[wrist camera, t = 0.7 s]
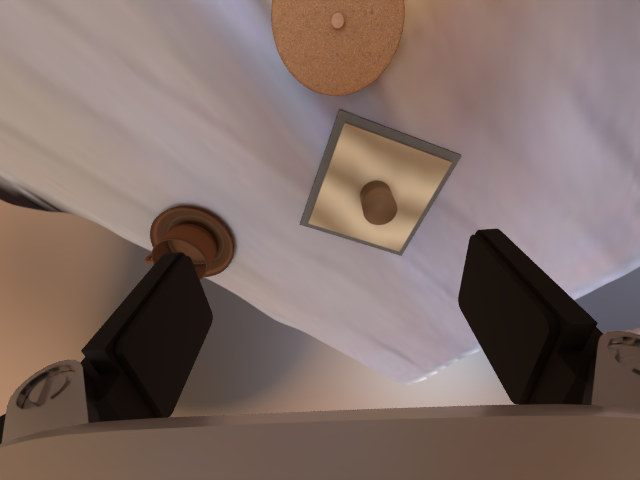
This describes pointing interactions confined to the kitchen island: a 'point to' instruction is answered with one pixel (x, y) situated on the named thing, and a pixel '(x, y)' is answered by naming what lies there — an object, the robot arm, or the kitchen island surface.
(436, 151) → the rubber mat
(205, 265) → the cup and saucer
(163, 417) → the robot arm
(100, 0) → the kitchen island surface
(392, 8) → the lidded jar
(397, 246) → the birch lid
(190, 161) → the kitchen island surface
